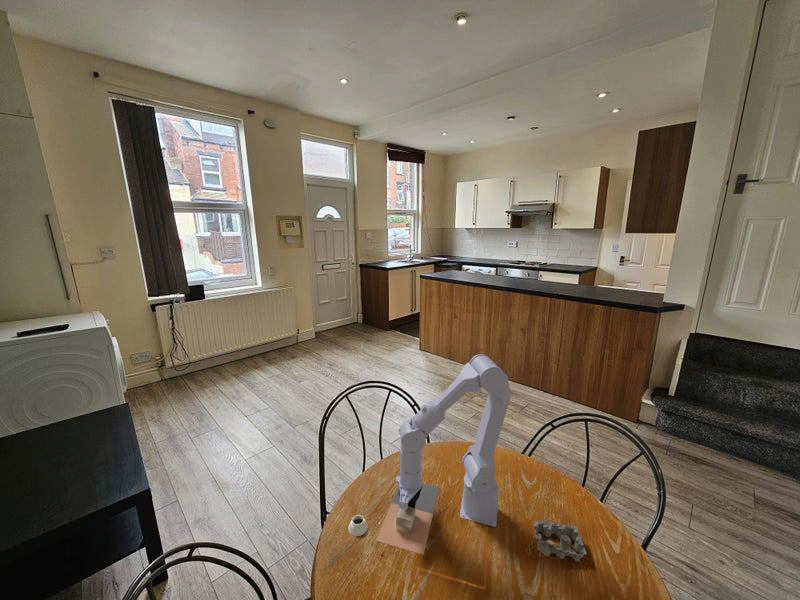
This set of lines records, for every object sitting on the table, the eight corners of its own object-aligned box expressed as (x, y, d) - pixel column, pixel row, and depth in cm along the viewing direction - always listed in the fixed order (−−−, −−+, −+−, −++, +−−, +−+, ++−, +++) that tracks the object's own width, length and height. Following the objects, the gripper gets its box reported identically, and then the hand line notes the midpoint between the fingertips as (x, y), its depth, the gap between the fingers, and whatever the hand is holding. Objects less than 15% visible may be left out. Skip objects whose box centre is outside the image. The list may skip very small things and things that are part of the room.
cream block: (415, 521, 85) (415, 508, 84) (411, 534, 81) (411, 520, 80) (400, 517, 86) (401, 504, 85) (396, 530, 82) (396, 516, 81)
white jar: (357, 517, 86) (344, 531, 82) (357, 508, 86) (344, 521, 82) (371, 527, 84) (359, 541, 80) (371, 517, 83) (358, 531, 79)
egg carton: (537, 556, 77) (539, 541, 76) (532, 528, 84) (533, 515, 83) (586, 566, 74) (588, 551, 73) (576, 537, 81) (578, 523, 81)
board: (439, 488, 97) (439, 486, 96) (423, 556, 76) (423, 554, 76) (401, 479, 100) (401, 478, 100) (376, 542, 79) (376, 540, 79)
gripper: (403, 446, 92) (403, 487, 95) (387, 482, 78) (387, 529, 81) (427, 451, 90) (426, 493, 93) (415, 489, 76) (414, 537, 79)
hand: (410, 510), depth 87 cm, fingers closed
